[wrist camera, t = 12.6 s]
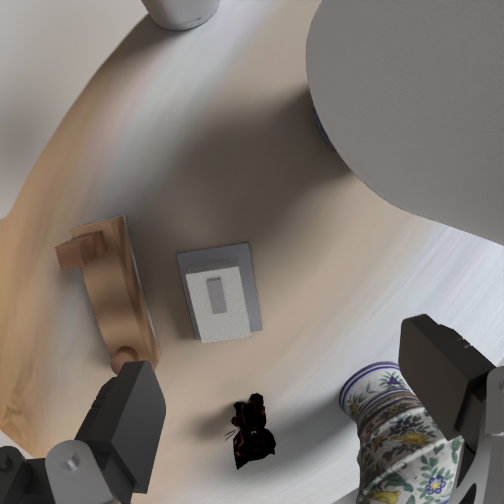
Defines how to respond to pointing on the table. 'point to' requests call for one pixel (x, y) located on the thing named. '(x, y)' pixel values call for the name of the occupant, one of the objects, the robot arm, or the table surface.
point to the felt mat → (246, 271)
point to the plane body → (113, 289)
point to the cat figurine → (251, 432)
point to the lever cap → (219, 300)
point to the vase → (397, 441)
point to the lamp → (416, 103)
